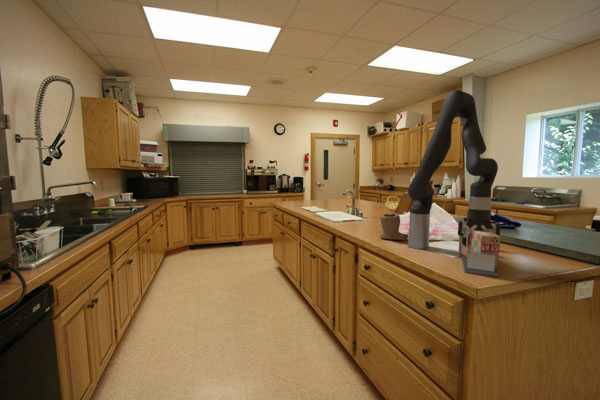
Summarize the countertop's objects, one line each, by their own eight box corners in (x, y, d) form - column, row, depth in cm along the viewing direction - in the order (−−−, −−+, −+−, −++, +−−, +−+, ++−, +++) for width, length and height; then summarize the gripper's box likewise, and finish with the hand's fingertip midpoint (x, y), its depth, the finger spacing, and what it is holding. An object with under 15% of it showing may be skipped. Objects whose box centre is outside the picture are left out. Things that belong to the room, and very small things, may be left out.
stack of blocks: (458, 251, 118) (459, 224, 117) (473, 252, 117) (475, 225, 116) (479, 267, 98) (481, 234, 96) (498, 268, 96) (501, 235, 95)
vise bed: (464, 272, 96) (465, 252, 96) (459, 249, 127) (460, 234, 127) (497, 277, 92) (499, 256, 91) (484, 251, 123) (485, 236, 122)
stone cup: (376, 240, 146) (377, 213, 145) (381, 236, 156) (382, 211, 155) (405, 243, 138) (406, 215, 137) (408, 239, 149) (409, 213, 147)
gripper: (459, 207, 105) (457, 247, 106) (503, 210, 98) (500, 252, 100) (458, 206, 112) (456, 243, 113) (499, 207, 105) (497, 247, 106)
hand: (477, 247), depth 106 cm, fingers open, 8 cm apart
